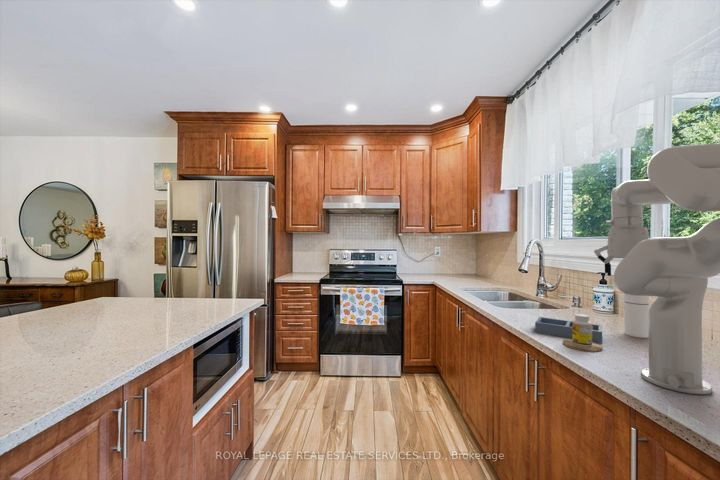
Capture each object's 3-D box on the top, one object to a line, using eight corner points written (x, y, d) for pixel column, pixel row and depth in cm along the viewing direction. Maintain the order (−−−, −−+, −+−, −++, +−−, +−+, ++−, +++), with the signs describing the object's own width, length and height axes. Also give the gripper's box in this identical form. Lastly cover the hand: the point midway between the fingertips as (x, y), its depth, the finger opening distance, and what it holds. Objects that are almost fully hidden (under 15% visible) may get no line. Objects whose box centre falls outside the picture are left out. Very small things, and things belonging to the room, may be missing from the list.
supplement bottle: (571, 340, 108) (571, 312, 108) (590, 343, 105) (590, 314, 105) (573, 345, 103) (573, 316, 103) (593, 348, 100) (593, 317, 100)
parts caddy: (602, 343, 107) (602, 331, 107) (535, 332, 121) (535, 322, 121) (602, 335, 116) (602, 325, 116) (539, 326, 129) (539, 316, 129)
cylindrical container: (631, 337, 114) (631, 271, 114) (620, 331, 121) (619, 269, 121) (654, 338, 112) (653, 272, 113) (641, 332, 119) (640, 270, 120)
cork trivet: (602, 354, 97) (602, 352, 97) (561, 346, 103) (561, 345, 104) (602, 345, 105) (602, 343, 105) (564, 338, 112) (564, 337, 112)
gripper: (594, 224, 99) (595, 275, 99) (667, 221, 89) (669, 278, 89) (592, 225, 105) (593, 274, 105) (661, 223, 95) (662, 277, 95)
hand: (628, 276), depth 97 cm, fingers open, 9 cm apart
